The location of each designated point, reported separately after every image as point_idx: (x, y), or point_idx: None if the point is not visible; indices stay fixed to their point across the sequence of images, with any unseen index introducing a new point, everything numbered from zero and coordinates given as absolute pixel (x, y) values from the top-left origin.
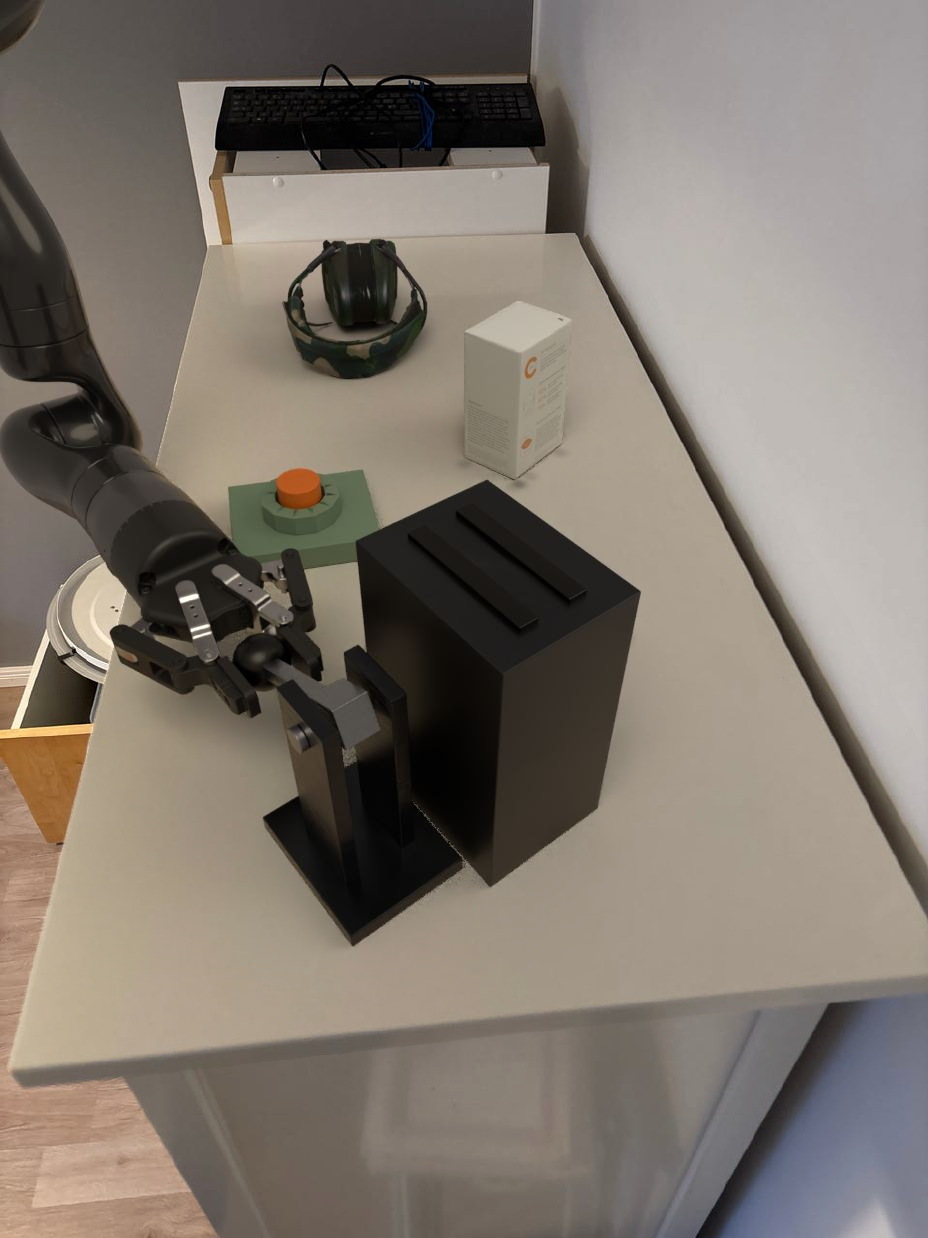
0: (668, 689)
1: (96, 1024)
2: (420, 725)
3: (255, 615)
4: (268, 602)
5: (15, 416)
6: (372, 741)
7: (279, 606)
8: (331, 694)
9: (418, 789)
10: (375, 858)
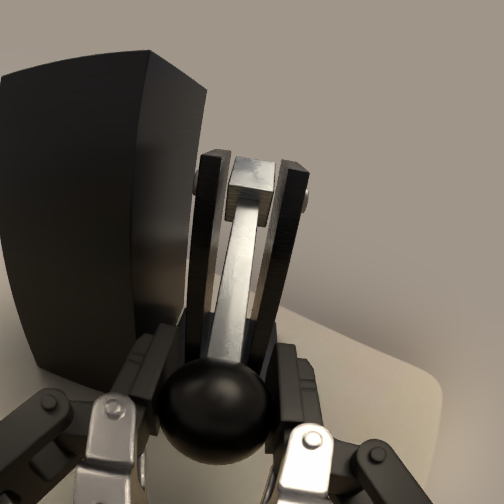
0: (5, 283)
1: (414, 376)
2: (165, 245)
3: (138, 491)
4: (96, 462)
5: None
6: (214, 248)
7: (92, 435)
8: (258, 174)
9: None
10: None
